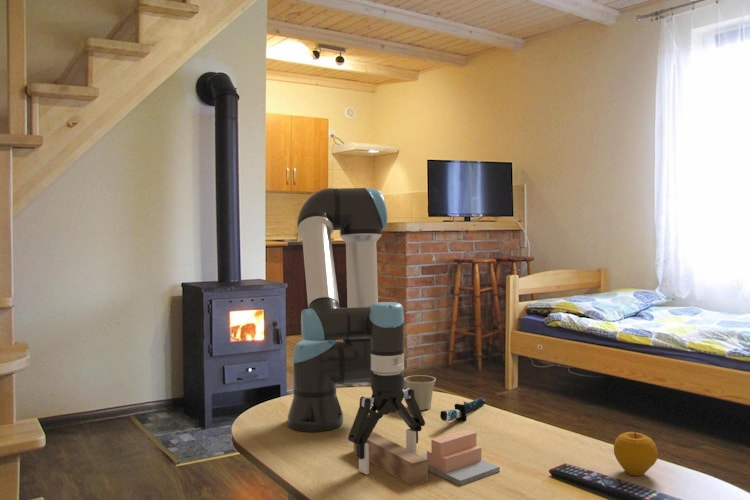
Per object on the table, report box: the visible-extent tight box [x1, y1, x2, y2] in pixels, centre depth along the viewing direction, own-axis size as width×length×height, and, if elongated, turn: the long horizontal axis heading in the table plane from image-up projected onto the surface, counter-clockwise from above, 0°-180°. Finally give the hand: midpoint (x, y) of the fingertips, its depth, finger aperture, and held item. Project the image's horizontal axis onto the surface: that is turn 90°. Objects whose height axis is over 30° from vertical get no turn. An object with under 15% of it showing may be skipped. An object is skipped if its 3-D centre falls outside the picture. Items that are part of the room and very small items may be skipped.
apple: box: [613, 431, 659, 477], centre depth 136 cm, size 9×9×9 cm
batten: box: [353, 430, 429, 486], centre depth 142 cm, size 24×4×5 cm, turn 33°
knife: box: [439, 397, 487, 423], centre depth 177 cm, size 31×3×4 cm, turn 145°
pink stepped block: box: [419, 429, 501, 486], centre depth 141 cm, size 16×12×7 cm
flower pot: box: [404, 374, 437, 411], centre depth 186 cm, size 9×9×9 cm
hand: (388, 465), depth 142 cm, fingers open, 13 cm apart
